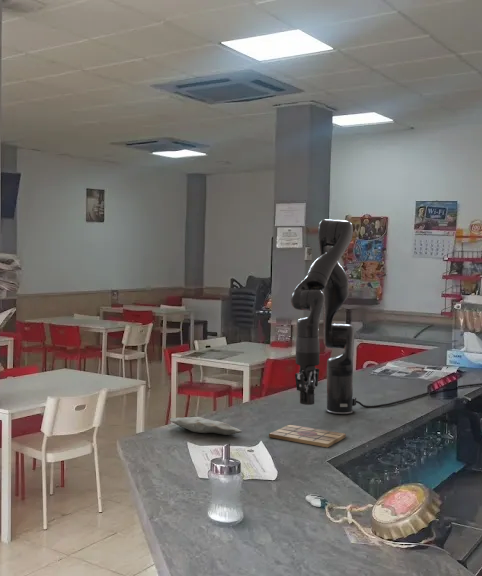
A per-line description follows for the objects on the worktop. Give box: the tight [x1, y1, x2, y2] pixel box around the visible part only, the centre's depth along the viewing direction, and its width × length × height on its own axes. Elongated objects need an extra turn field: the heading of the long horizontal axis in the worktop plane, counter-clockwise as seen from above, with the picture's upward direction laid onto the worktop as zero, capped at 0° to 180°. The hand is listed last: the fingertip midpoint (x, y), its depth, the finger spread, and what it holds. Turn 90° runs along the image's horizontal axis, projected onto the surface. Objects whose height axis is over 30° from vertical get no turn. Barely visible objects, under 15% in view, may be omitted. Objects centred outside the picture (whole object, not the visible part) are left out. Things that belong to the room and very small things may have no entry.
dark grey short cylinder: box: [299, 392, 315, 406], centre depth 234 cm, size 5×5×3 cm
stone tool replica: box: [169, 416, 243, 436], centre depth 241 cm, size 15×5×25 cm
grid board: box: [268, 424, 347, 448], centre depth 235 cm, size 15×20×1 cm
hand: (307, 401), depth 234 cm, fingers closed on dark grey short cylinder, 4 cm apart
